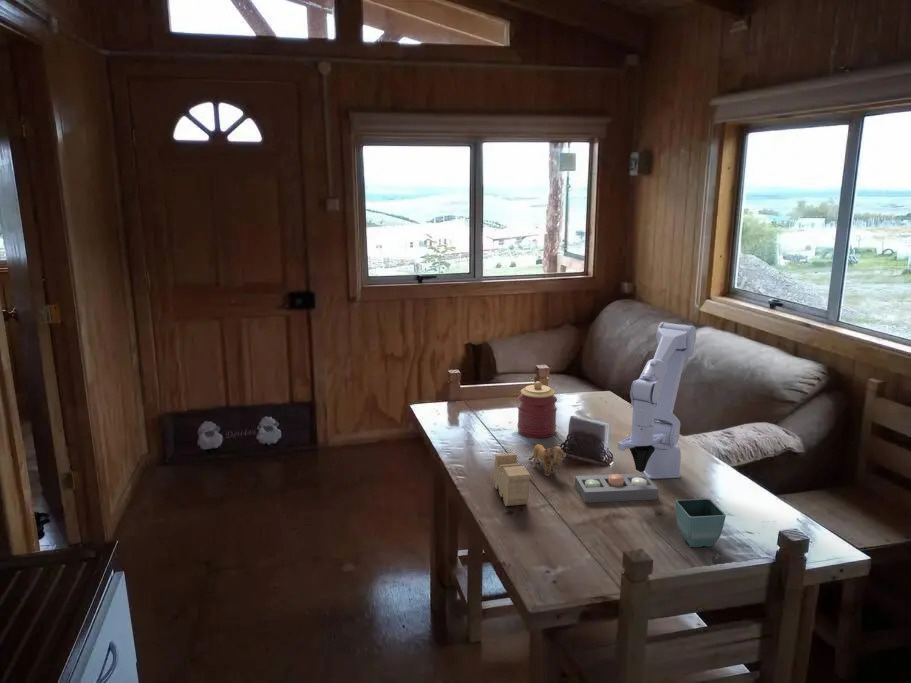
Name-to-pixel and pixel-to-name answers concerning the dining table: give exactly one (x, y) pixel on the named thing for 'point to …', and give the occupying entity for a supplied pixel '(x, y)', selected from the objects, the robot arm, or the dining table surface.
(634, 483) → the cream button
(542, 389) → the canister
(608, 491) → the button panel
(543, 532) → the dining table surface
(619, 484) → the terracotta button
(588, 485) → the sage button
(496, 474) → the toy train
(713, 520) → the flower pot
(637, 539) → the dining table surface
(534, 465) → the lion figurine
